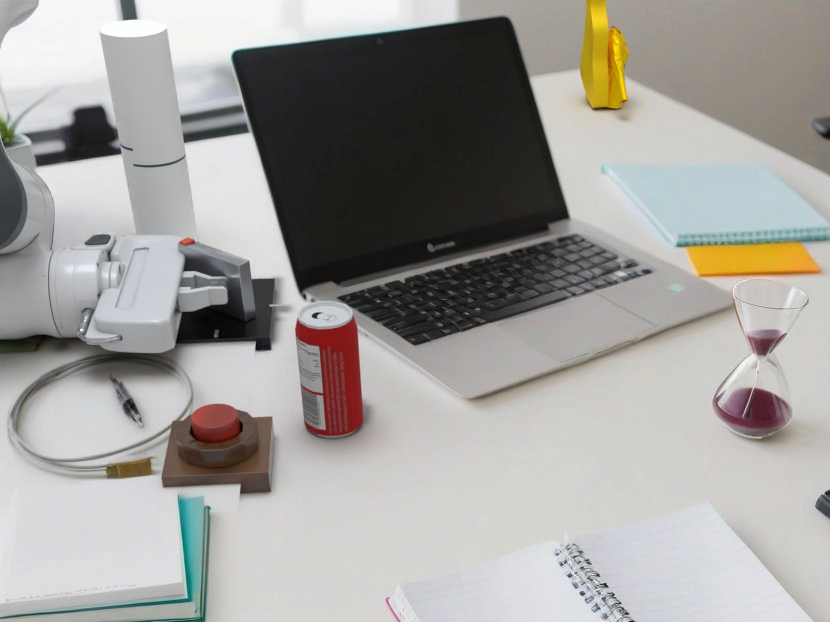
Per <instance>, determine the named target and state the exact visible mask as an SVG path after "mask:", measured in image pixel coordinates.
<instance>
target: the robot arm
mask: <svg viewBox="0 0 830 622" xmlns="http://www.w3.org/2000/svg"><path fill="white" fill-rule="evenodd" d="M39 4H40V0H0V49H1V47H2V44H3V41H4V39H5V37H6V35H7V33H8V32H9V31H10V30H11V29H13V28H16V27H17V26H19V25H21V24H22V23H24V22H25V21H28V19H29V18H30V17H31V16H33V14H34V13H35V11H36V10H37V8H38V7H39ZM1 133H2V132H0V340H5V341H6V340H23V339H27V338H30V337H33V336H51V337H54V338H58V339H73V338H76V339H77V338H78V339H80V340H81V341H82V342H84V343H86V344H87V345H91V346H100V348H102V349H104V350H106V351H110V352H119V353H135V354H136V353H137V354H161V353H165V352H166V353H167V352H168V351H171V350H173V349H175V346H176V344H175V342H176V338H177V334H178V329H179V325H180V320H181V316H182V312H187V311H195V310H198V309H201V308H204V307H207V306H210V305H218V304H226V303H227V302H228V296H229V291H230V288H229V281H228V279H227V277H225V276H219V277H211V276H209V275H206V274H202V273H199V272H196V271H183V270H184V266H185V262H186V257H185V255H184V254H183V253H181V252H179V251H178V245H177V244H178V243H179V241H181V240H183V239H184V238H182V237H179V236H173V235H136V234H128V235H127V234H126V235H123V236H120V237H118V238H117V239H116V234H115V233H114V232H113V231H99V232H95V233H93V234H92V235H91V236H90V237H89V238H87V239H86V240H84V241H83V242H81V243H79V244H78V245H75V246H72V247H71V248H70V249H57V250H56V249H53V244H54V243H53V242H54V231H55V221H56V219H55V216H56V213H55V212H56V211H55V210H56V209H55V202H54V198H53V195H52V193H51V190H50V188H49V186H48V185H47V184H46V182H45V181H44V179H42V177H41V176H40V175H38V173H36V172H35V171H34V170H32V169H31V168H28V167H27V166H25V165H24V164H21V163H20V162H18V161H15V160H14V159H11V157H10V155H9V154H8V152H7V149H6V148H5V145H4V142H3V139H2V135H1Z"/></svg>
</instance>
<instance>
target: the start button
mask: <svg viewBox="0 0 830 622" xmlns="http://www.w3.org/2000/svg"><path fill="white" fill-rule="evenodd" d="M237 410H238V409H237ZM237 410H236V407H234V406H231V405H229V404H226V403H209V404H206V405H203V406H200V407H198V408H196V409H195V410H194V411H193V412H192V413H191V414H192V416H191V422H192V428H193V434H194V437H195V438H196V440H198V441H200V442H204V443H222V442H225V441H228V440H230V439H233V438H235V437H236V436H238V434H239V432H240V425H239V418H238V412H237Z"/></svg>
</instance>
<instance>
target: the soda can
mask: <svg viewBox="0 0 830 622" xmlns="http://www.w3.org/2000/svg"><path fill="white" fill-rule="evenodd" d="M353 312H354V311H353V308H351V307H349V306H348V305H347V304H345V303H341V302H339V301H338V302H337V301H334V300H321V301H315V302H310V303H308V304H305V305H304V306H302V307H301V308H300V309H299V310H298V311H297V314H296V315H297V318H296V323H295V328H294V333H295V344H296V353H297V362H298V372H299V374H298V375H299V384H300V393H301V403H302V414H303V423H304V426H305V427H306V429H307V430H309V431H310V432H312V433H313V434H315V435H316V436H317V437H322V438H326V439H337V438H342V437H346V436H349V435H351V434H353V433H354V432H356V431H357V430H358V429H359V428H360V427H361V426H362V425H363V422H364V409H363V408H364V407H363V396H362V395H363V392H362V378H361V363H360V362H361V360H360V359H361V358H360V347H359V343H360V342H359V328H358V324H357V322H356V319H355V316H354V313H353Z"/></svg>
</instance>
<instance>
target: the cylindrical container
mask: <svg viewBox="0 0 830 622" xmlns="http://www.w3.org/2000/svg"><path fill="white" fill-rule="evenodd" d="M98 32H99V38H100V43H101V48H102V53H103V58H104V59H103V60H104V64H105V71H106V74H107V76H106V77H107V81H108V87H109V92H110V97H111V103H112V108H113V113H114V120H115V125H116V130H117V136H118V141H119V147H120V151H121V152H120V153H121V157H122V164H123V168H124V173H125V174H124V175H125V180H126V184H127V190H128V196H129V202H130V206H131V207H130V208H131V212H132V217H133V224H134V229H135V235H173V236H179V237H182V238H184V239H186V238H191V239H194V240H195V241H196V242H199V234H198V228H197V221H196V214H195V207H194V200H193V194H192V187H191V181H190V174H189V166H188V161H187V159H188V158H187V154H186V147H185V140H184V134H183V133H184V132H183V127H182V120H181V114H180V106H179V100H178V93H177V86H176V79H175V74H174V66H173V59H172V53H171V47H170V46H171V45H170V41H169V40H170V39H169V33H168V26H167V25H166V23H164V22H160V21H157V20H151V19H126V20H117V21H112V22H109V23H106V24H104V25H102V26H100V27H99V29H98Z"/></svg>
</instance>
